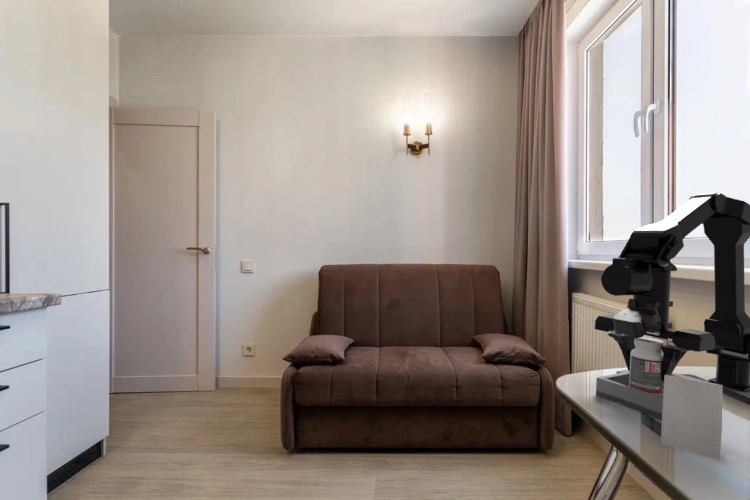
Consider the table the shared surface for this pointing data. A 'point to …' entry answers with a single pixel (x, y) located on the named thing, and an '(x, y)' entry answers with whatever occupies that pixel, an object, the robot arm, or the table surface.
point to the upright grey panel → (692, 416)
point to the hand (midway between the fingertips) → (647, 376)
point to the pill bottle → (647, 366)
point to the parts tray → (628, 394)
